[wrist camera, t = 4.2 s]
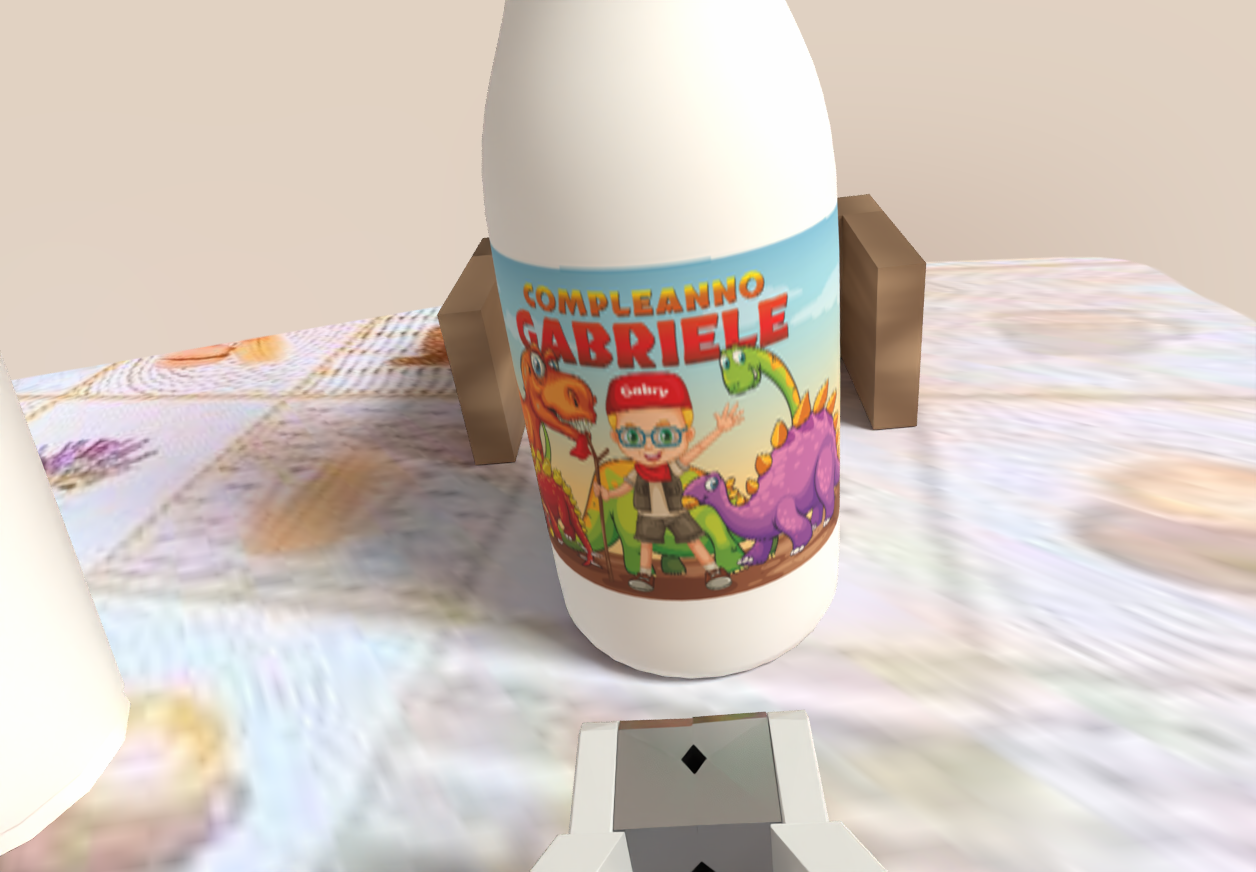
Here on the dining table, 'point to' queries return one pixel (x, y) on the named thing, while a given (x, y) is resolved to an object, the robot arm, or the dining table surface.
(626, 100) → the milk bottle
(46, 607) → the foam cup
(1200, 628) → the dining table surface
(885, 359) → the walnut dock
